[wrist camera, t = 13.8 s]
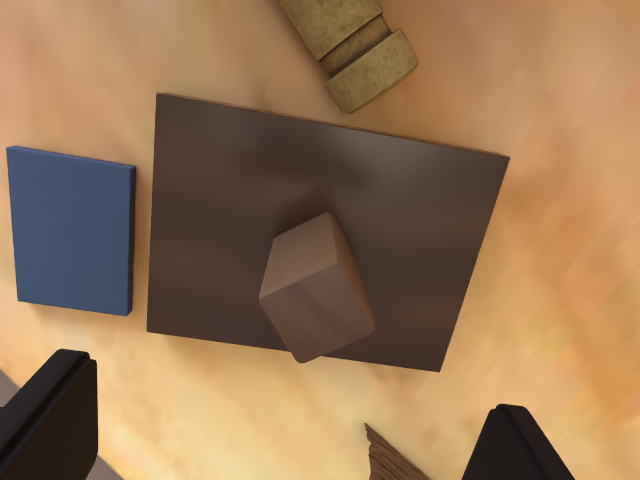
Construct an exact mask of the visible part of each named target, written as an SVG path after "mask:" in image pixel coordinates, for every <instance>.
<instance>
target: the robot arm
mask: <svg viewBox="0 0 640 480" xmlns="http://www.w3.org/2000/svg"><path fill="white" fill-rule="evenodd" d="M97 453H98V402H97V362H96V360H93V359H90V355H89V353H88V352H83V351H75V350H67V349H59V350H57V351H56V352H55V353H54V354H53V355H52V356H51V357H50V358H49V359H48V360H47V361H46V362H45V363H44V365H43V366H42V367H41V368H40V369H39V370H38V371H37V372H36V373H35V374H34V375H33V376H32V377H31V378H30V379H29V380H28V382H27V383H26V384H25V385H24V386H23V387H22V388H21V389H20V390H19V391H18V392H17V393H16V394H15V395H14V397H13V398H12V399H11V400H10V401H9V402H8V403H7V404H6V405H5V406H4V407H0V480H85V479H86V478H87V476H88V474H89V472H90V470H91V469H92V467H93V464H94V463H95V460H96V457H97ZM462 480H575V479H574V477H573V476H572V474H571V473H570V471H569V470H568V468H567V467H566V466H565V464H564V463H563V461H562V460H561V458H560V457H559V455H558V454H557V452H556V451H555V449H554V448H553V446H552V445H551V443H550V442H549V440H548V439H547V437H546V436H545V434H544V433H543V431H542V430H541V428H540V427H539V425H538V424H537V423H536V421H535V420H534V418H533V417H532V415H531V414H530V412H529V411H528V410H527V409H526V408H525V407H523V406H516V405H508V404H499V405H497V406H496V408H495V409H492V410H490V412H489V414H488V416H487V418H486V421H485V423H484V426H483V428H482V431H481V433H480V436H479V438H478V440H477V443H476V445H475V448H474V450H473V453H472V455H471V458H470V460H469V463H468V465H467V467H466V470H465V472H464V475H463V477H462Z"/></svg>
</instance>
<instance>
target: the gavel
mask: <svg viewBox="0 0 640 480" xmlns="http://www.w3.org/2000/svg"><path fill="white" fill-rule="evenodd" d="M278 2H279V3H280V5H281V6H282V8H283V9H284V11H285V13H286V14H287V16H288V17H289V19H290V20H291V22H292V24H293V25H294V27H295V28H296V30H297V31H298V33H299V34H300V36H301V38H302V39H303V41H304V42H305V44H306V45H307V47H308V48H309V50H310V52H311V53H312V55H313V56H314V58H315V59H316V61H317V62H320V61H321V63H322V65H323V66H324V68H325V69H326V71H327V72H328V74H329V75H330V77H331V78H330V79H329V80H328V81H327V82H326V83H325V84H324V85H325V86H326V88H327V89H328V91H329V92H330V94H331V96H332V97H333V99H334V100H335V102H336V103H337V105H338V106H339V108H340V109H341V111H342V113H343V114H351V113H353V112H355V111H357V110H359V109H361V108H362V107H364V106H365V105H367V104H369V103H370V102H372V101H373V100H375V99H376V98H378V97H379V96H381V95H382V94H384V93H385V92H387V91H388V90H389V89H391V88H392V87H393V86H395V85H396V84H397V83H399V82H400V81H401V80H403V79H404V78H405V77H406V76H408V75H409V74H410V73H411V72H412V71H413V70H414V69H415V68H416V67H417V64H418V62H419V59H418V57H417V56H416V54H415V52H414V50H413V48H412V47H411V45H410V43H409V41H408V40H407V38H406V36H405V34H404V32H403V31H402V29H401V28H399V29H398V30H396V31H394V32H391V30H390V29H389V27H388V25H387V23H386V22H385V20H384V18H383V16H382V13H383V12H384V11H383V9H382V8H381V6H380V4H379V2H378V0H278Z"/></svg>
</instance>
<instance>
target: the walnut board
mask: <svg viewBox="0 0 640 480" xmlns="http://www.w3.org/2000/svg"><path fill="white" fill-rule="evenodd" d="M509 160H510V157H508V156H505V155H502V154H498V153H493V152H488V151H482V150H477V149H471V148H466V147H460V146H455V145H449V144H444V143H438V142H433V141H428V140H422V139H417V138H411V137H406V136H400V135H395V134H389V133H384V132H378V131H373V130H368V129H362V128H357V127H351V126H346V125H340V124H335V123H329V122H324V121H318V120H313V119H308V118H302V117H297V116H291V115H286V114H280V113H275V112H269V111H264V110H258V109H253V108H247V107H242V106H237V105H231V104H226V103H220V102H215V101H209V100H204V99H198V98H193V97H187V96H182V95H177V94H171V93H157V94H156V118H155V141H154V165H153V188H152V212H151V236H150V259H149V283H148V306H147V330H146V331H147V332H151V333H159V334H166V335H173V336H180V337H187V338H195V339H202V340H209V341H216V342H224V343H231V344H238V345H245V346H253V347H260V348H267V349H274V350H281V351H289V352H290V350H289V349H288V347H287V345H286V344H285V342H284V341H283V339H282V337H281V336H280V334H279V333H278V331H277V329H276V328H275V326H274V325H273V323H272V321H271V320H270V318H269V317H268V315H267V313H266V312H265V310H264V309H263V307H262V305H261V304H260V301H259V294H260V290H261V286H262V282H263V278H264V274H265V270H266V267H267V263H268V259H269V255H270V251H271V247H272V243H273V240H274V239H275V237H276V236H278V235H280V234H282V233H284V232H286V231H288V230H290V229H292V228H294V227H296V226H298V225H301V224H303V223H305V222H307V221H309V220H311V219H313V218H315V217H317V216H319V215H321V214H323V213H326V212H330V213H332V214H333V215H334V216H335V218H336V220H337V222H338V224H339V226H340V228H341V230H342V232H343V234H344V236H345V238H346V240H347V242H348V244H349V246H350V248H351V250H352V252H353V254H354V256H355V258H356V259H357V262H358V266H359V270H360V273H361V277H362V281H363V284H364V288H365V291H366V295H367V299H368V302H369V306H370V310H371V313H372V317H373V321H374V331H373V332H372V333H371V334H370V335H368V336H366V337H363V338H361V339H359V340H356V341H354V342H352V343H349V344H347V345H345V346H343V347H340V348H338V349H336V350H333V351H331V352H329V353H327V354H324V355H322V356H325V357H332V358H339V359H347V360H354V361H361V362H368V363H375V364H383V365H390V366H397V367H404V368H412V369H419V370H426V371H433V372H440V370H441V367H442V364H443V361H444V358H445V355H446V352H447V349H448V346H449V343H450V340H451V337H452V334H453V330H454V327H455V324H456V321H457V318H458V315H459V312H460V309H461V306H462V303H463V300H464V297H465V294H466V291H467V288H468V285H469V282H470V279H471V276H472V273H473V270H474V266H475V263H476V260H477V257H478V254H479V251H480V248H481V245H482V242H483V239H484V236H485V233H486V230H487V227H488V224H489V221H490V218H491V215H492V212H493V209H494V206H495V203H496V199H497V196H498V193H499V190H500V187H501V184H502V181H503V178H504V175H505V172H506V169H507V166H508V163H509Z"/></svg>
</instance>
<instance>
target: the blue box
mask: <svg viewBox="0 0 640 480" xmlns="http://www.w3.org/2000/svg"><path fill="white" fill-rule="evenodd" d="M6 151H7V164H8V177H9V191H10V204H11V217H12V231H13V244H14V257H15V270H16V284H17V297H18V301H21V302H28V303H35V304H42V305H49V306H56V307H64V308H71V309H78V310H85V311H92V312H99V313H106V314H113V315H120V316H128V315H129V313H130V312H131V311H132V285H133V250H134V215H135V179H136V166H132V165H126V164H120V163H114V162H108V161H102V160H96V159H90V158H85V157H79V156H73V155H67V154H61V153H55V152H49V151H43V150H37V149H31V148H25V147H19V146H12V147H7V148H6Z"/></svg>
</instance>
